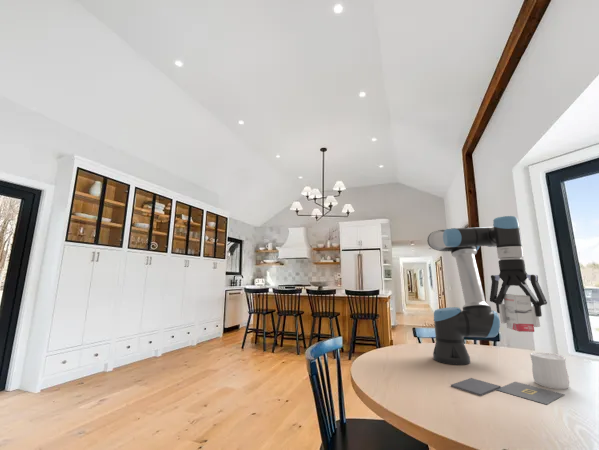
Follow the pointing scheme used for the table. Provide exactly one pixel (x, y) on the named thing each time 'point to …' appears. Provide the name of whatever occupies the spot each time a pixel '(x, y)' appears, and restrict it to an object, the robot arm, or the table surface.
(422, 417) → the table surface
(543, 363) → the cup
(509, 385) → the slate mat
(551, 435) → the table surface
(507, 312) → the ink box
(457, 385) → the felt pad
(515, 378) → the table surface
